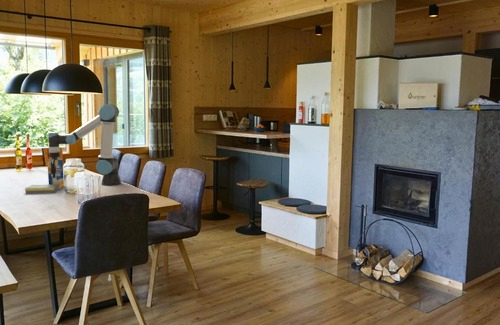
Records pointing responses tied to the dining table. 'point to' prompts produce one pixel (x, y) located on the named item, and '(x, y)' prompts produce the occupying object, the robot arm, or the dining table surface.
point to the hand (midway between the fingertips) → (56, 181)
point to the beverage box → (58, 172)
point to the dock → (42, 188)
